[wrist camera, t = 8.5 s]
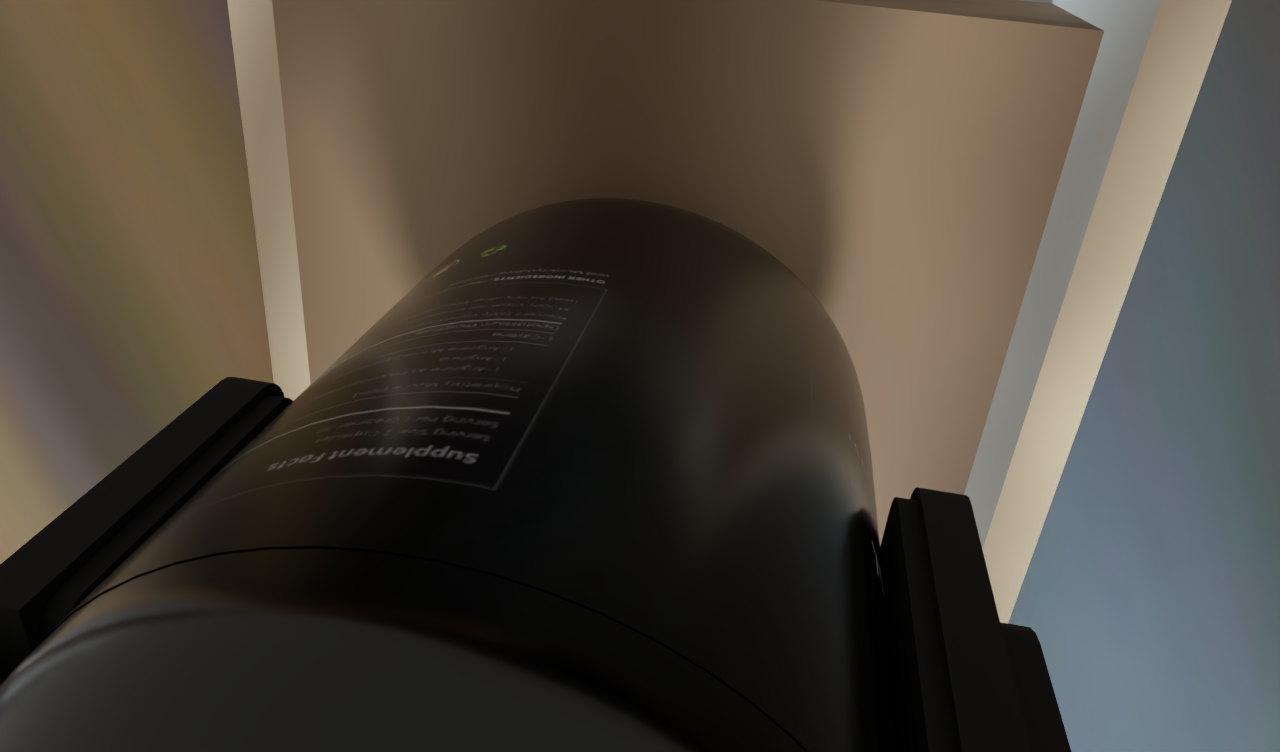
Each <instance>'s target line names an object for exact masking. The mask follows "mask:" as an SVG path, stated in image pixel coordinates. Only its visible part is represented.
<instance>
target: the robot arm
mask: <svg viewBox="0 0 1280 752" xmlns="http://www.w3.org/2000/svg"><path fill="white" fill-rule="evenodd" d="M292 402H293V400H291V399H290V398H285V397H284V393H283V391H282V389H281V388H280V386H278V385H276V384H274V383H267V382H261V381H255V380H249V379H243V378H236V377H227V378H225V379H223V380H222V381H220V382H219V383H218V384H217V385H215V386H214V387H213V388H212V389H211V390H209V391H208V392H207V393H206V394H205V395H203V396H202V397H201V398H200V399H199V400H197V401H196V402H195V403H194V404H193V405H191V406H190V407H189V408H188V409H187V410H185V411H184V412H183V413H182V414H181V415H179V416H178V417H177V418H176V419H175V420H173V421H172V422H171V423H170V424H169V425H167V426H166V427H165V428H164V429H163V430H161V431H160V432H159V433H158V434H157V435H155V436H154V437H153V438H152V439H151V440H149V441H148V442H147V443H146V444H145V445H143V446H142V447H141V448H140V449H139V450H137V451H136V452H135V453H134V454H133V455H131V456H130V457H129V458H128V459H127V460H125V461H124V462H123V463H122V464H121V465H119V466H118V467H117V468H116V469H115V470H113V471H112V472H111V473H110V474H109V475H107V476H106V477H105V478H104V479H103V480H101V481H100V482H99V483H98V484H97V485H95V486H94V487H93V488H92V489H91V490H89V491H88V492H87V493H86V494H85V495H83V496H82V497H81V498H80V499H79V500H77V501H76V502H75V503H74V504H73V505H71V506H70V507H69V508H68V509H67V510H65V511H64V512H63V513H62V514H61V515H59V516H58V517H57V518H56V519H55V520H53V521H52V522H51V523H50V524H49V525H47V526H46V527H45V528H44V529H43V530H41V531H40V532H39V533H38V534H37V535H35V536H34V537H33V538H32V539H31V540H29V541H28V542H27V543H26V544H25V545H23V546H22V547H21V548H20V549H19V550H17V551H16V552H15V553H14V554H13V555H11V556H10V557H9V558H8V559H7V560H5V561H4V562H3V563H2V564H1V565H0V685H1V684H2V683H3V682H4V681H5V679H6V678H7V677H8V676H9V675H10V674H11V673H12V672H13V671H14V670H15V669H16V667H17V666H18V665H19V664H20V663H21V662H22V661H23V660H24V659H25V658H26V657H27V656H28V655H29V654H30V653H31V652H32V651H33V650H34V649H35V648H36V647H37V646H38V645H39V644H40V643H41V642H42V641H43V640H44V639H45V637H46V636H47V635H48V634H49V633H50V632H51V631H52V630H53V629H54V628H55V627H56V626H57V625H58V624H59V623H60V622H61V621H62V620H63V619H64V618H65V617H66V616H67V615H68V614H69V613H70V612H71V611H72V610H73V609H75V608H76V607H77V606H78V605H79V604H80V603H81V602H82V601H83V600H84V599H85V598H86V597H87V596H88V595H89V594H90V593H91V592H92V591H93V590H95V589H96V588H97V587H98V586H99V585H100V584H101V583H102V582H103V581H104V580H105V579H106V578H107V577H108V576H109V575H110V574H111V573H112V572H113V571H115V570H116V569H117V568H118V567H119V566H120V565H121V564H122V563H123V562H124V561H125V560H126V559H127V558H128V557H129V556H130V555H131V554H132V553H134V552H135V551H136V550H137V549H138V548H139V547H140V546H141V545H142V544H143V543H144V542H145V541H146V540H147V539H148V538H149V537H150V536H151V535H153V534H154V533H155V532H156V531H157V530H158V529H159V528H160V527H161V526H162V525H163V524H164V523H165V522H166V521H167V520H168V519H169V518H170V517H172V516H173V515H174V514H175V513H176V512H177V511H178V510H179V509H180V508H181V507H182V506H183V505H184V504H185V503H186V502H187V501H188V500H189V499H191V498H192V497H193V496H194V495H195V494H196V493H197V492H198V491H199V490H200V489H201V488H202V487H203V486H204V485H205V484H206V483H207V482H208V481H210V480H211V479H212V478H213V477H214V476H215V475H216V474H217V473H218V472H219V471H220V470H221V469H222V468H223V467H224V466H225V465H226V464H227V463H229V462H230V461H231V460H232V459H233V458H234V457H235V456H236V455H237V454H238V453H239V452H240V451H241V450H242V449H243V448H244V447H245V446H247V445H248V444H249V443H250V442H251V441H252V440H253V439H254V438H255V437H256V436H257V435H258V434H259V433H260V432H261V431H262V430H263V429H264V428H266V427H267V426H268V425H269V424H270V423H271V422H272V421H273V420H274V419H275V418H276V417H277V416H278V415H279V414H280V413H281V412H282V411H283V410H285V409H286V408H287V407H288V406H289V405H290V404H291V403H292ZM880 551H881V561H882V572H883V582H884V593H885V603H886V613H887V624H888V634H889V644H890V655H891V665H892V675H893V686H894V696H895V707H896V717H897V727H898V738H899V748H900V752H1071V749H1070V746H1069V742H1068V739H1067V735H1066V732H1065V728H1064V725H1063V722H1062V718H1061V715H1060V711H1059V708H1058V704H1057V701H1056V697H1055V694H1054V690H1053V687H1052V683H1051V680H1050V676H1049V673H1048V669H1047V666H1046V662H1045V659H1044V656H1043V652H1042V649H1041V645H1040V642H1039V640H1038V638H1037V635H1036V633H1035V632H1034V631H1033V630H1032V629H1031V628H1030V627H1024V626H1018V625H1013V624H1007V623H1001V622H1000V620H999V616H998V612H997V608H996V604H995V600H994V595H993V591H992V587H991V583H990V579H989V575H988V571H987V567H986V562H985V558H984V554H983V550H982V546H981V542H980V538H979V533H978V529H977V525H976V521H975V517H974V513H973V509H972V505H971V501H970V499H969V497H968V496H967V495H962V494H956V493H950V492H943V491H937V490H931V489H925V488H919V487H916V488H915V489H914V491H913V493H912V495H911V497H910V499H905V498H899V497H895V498H894V499H893V501H892V504H891V507H890V511H889V515H888V518H887V522H886V526H885V530H884V534H883V538H882V542H881V546H880Z"/></svg>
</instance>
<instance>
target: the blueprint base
mask: <svg viewBox="0 0 1280 752" xmlns="http://www.w3.org/2000/svg"><path fill="white" fill-rule="evenodd" d="M1231 1H1232V0H227V2H228V10H229V18H230V27H231V35H232V43H233V51H234V59H235V68H236V76H237V84H238V92H239V100H240V109H241V117H242V125H243V133H244V141H245V150H246V158H247V166H248V174H249V182H250V190H251V199H252V207H253V215H254V223H255V231H256V240H257V248H258V256H259V264H260V272H261V281H262V289H263V297H264V305H265V313H266V322H267V330H268V338H269V346H270V354H271V363H272V371H273V379H274V384H276V385H278V386H280V388H281V389H282V391H283V393H284V397H285V398H290V399H291V400H293V401H294V400H295V399H296V398H297V397H298V396H299V395H300V394H301V393H302V392H304V391H305V390H306V389H307V388H308V387H309V386H310V385H311V384H312V383H313V382H314V381H315V380H316V379H317V378H318V377H319V376H320V375H321V374H323V373H324V372H325V371H326V370H327V369H328V368H329V367H330V366H331V365H332V364H333V363H334V362H335V361H336V360H337V359H338V358H339V357H340V356H342V355H343V354H344V353H345V352H346V351H347V350H348V349H349V348H350V347H351V346H352V345H353V344H354V343H355V342H356V341H357V340H358V339H360V338H361V337H362V336H363V335H364V334H365V333H366V332H367V331H368V330H369V329H370V328H371V327H372V326H373V325H374V324H375V323H376V322H377V321H379V320H380V319H381V318H382V317H383V316H384V315H385V314H386V313H387V312H388V311H389V310H390V309H391V308H392V307H393V306H394V305H395V304H396V303H398V302H399V301H400V300H401V299H402V298H403V297H404V296H405V295H406V294H407V293H408V292H409V291H410V290H411V289H412V288H413V287H415V286H416V285H417V284H418V283H419V282H420V281H421V280H422V279H423V278H424V277H425V276H427V275H428V274H429V273H430V272H431V271H432V270H434V269H435V268H436V267H437V266H438V265H439V264H440V263H442V262H443V261H444V260H445V259H446V258H447V257H448V256H449V255H451V254H452V253H453V252H454V251H455V250H457V249H458V248H459V247H461V246H462V245H464V244H465V243H466V242H468V241H469V240H470V239H472V238H473V237H475V236H476V235H478V234H480V233H481V232H483V231H485V230H487V229H488V228H490V227H492V226H494V225H495V224H497V223H499V222H501V221H503V220H506V219H508V218H510V217H513V216H515V215H517V214H520V213H522V212H525V211H528V210H532V209H535V208H538V207H541V206H545V205H550V204H555V203H560V202H565V201H571V200H581V199H592V198H622V199H632V200H642V201H649V202H654V203H659V204H664V205H669V206H673V207H677V208H680V209H683V210H687V211H690V212H693V213H697V214H699V215H702V216H704V217H707V218H709V219H712V220H714V221H716V222H719V223H721V224H723V225H725V226H727V227H729V228H731V229H733V230H735V231H736V232H738V233H740V234H742V235H744V236H746V237H747V238H749V239H750V240H752V241H753V242H755V243H756V244H758V245H759V246H761V247H762V248H764V249H765V250H767V251H768V252H769V253H770V254H772V255H773V256H774V257H775V258H777V259H778V260H779V261H780V262H782V263H783V264H784V265H785V266H787V267H788V268H789V269H790V270H791V271H792V272H793V273H794V274H795V275H796V276H797V277H798V278H799V279H800V280H801V281H802V282H803V283H804V284H805V285H806V286H807V287H808V289H809V290H810V291H811V292H812V293H813V295H814V296H815V297H816V298H817V299H818V301H819V302H820V303H821V304H822V306H823V307H824V309H825V310H826V312H827V313H828V315H829V316H830V318H831V319H832V321H833V322H834V324H835V326H836V327H837V329H838V331H839V333H840V335H841V337H842V339H843V341H844V342H845V344H846V347H847V349H848V352H849V354H850V357H851V359H852V362H853V364H854V367H855V370H856V374H857V377H858V381H859V385H860V388H861V392H862V395H863V401H864V407H865V413H866V420H867V428H868V435H869V443H870V449H871V458H872V468H873V479H874V489H875V499H876V510H877V520H878V530H879V541H880V546H881V542H882V538H883V534H884V530H885V526H886V522H887V518H888V515H889V511H890V507H891V504H892V501H893V499H894V498H895V497H899V498H905V499H910V497H911V495H912V493H913V491H914V489H915V488H916V487H919V488H925V489H931V490H937V491H943V492H950V493H956V494H962V495H967V496H968V497H969V499H970V501H971V505H972V509H973V513H974V517H975V521H976V525H977V529H978V533H979V538H980V542H981V546H982V550H983V554H984V558H985V562H986V567H987V571H988V575H989V579H990V583H991V587H992V591H993V595H994V600H995V604H996V608H997V612H998V616H999V620H1000V622H1001V623H1007V624H1008V622H1009V619H1010V616H1011V613H1012V611H1013V608H1014V605H1015V602H1016V600H1017V597H1018V594H1019V591H1020V588H1021V586H1022V583H1023V580H1024V577H1025V575H1026V572H1027V569H1028V566H1029V563H1030V561H1031V558H1032V555H1033V552H1034V550H1035V547H1036V544H1037V541H1038V538H1039V536H1040V533H1041V530H1042V527H1043V524H1044V522H1045V519H1046V516H1047V513H1048V511H1049V508H1050V505H1051V502H1052V499H1053V497H1054V494H1055V491H1056V488H1057V486H1058V483H1059V480H1060V477H1061V474H1062V472H1063V469H1064V466H1065V463H1066V460H1067V458H1068V455H1069V452H1070V449H1071V447H1072V444H1073V441H1074V438H1075V435H1076V433H1077V430H1078V427H1079V424H1080V422H1081V419H1082V416H1083V413H1084V410H1085V408H1086V405H1087V402H1088V399H1089V396H1090V394H1091V391H1092V388H1093V385H1094V383H1095V380H1096V377H1097V374H1098V371H1099V369H1100V366H1101V363H1102V360H1103V358H1104V355H1105V352H1106V349H1107V346H1108V344H1109V341H1110V338H1111V335H1112V333H1113V330H1114V327H1115V324H1116V321H1117V319H1118V316H1119V313H1120V310H1121V307H1122V305H1123V302H1124V299H1125V296H1126V294H1127V291H1128V288H1129V285H1130V282H1131V280H1132V277H1133V274H1134V271H1135V269H1136V266H1137V263H1138V260H1139V257H1140V255H1141V252H1142V249H1143V246H1144V243H1145V241H1146V238H1147V235H1148V232H1149V230H1150V227H1151V224H1152V221H1153V218H1154V216H1155V213H1156V210H1157V207H1158V205H1159V202H1160V199H1161V196H1162V193H1163V191H1164V188H1165V185H1166V182H1167V179H1168V177H1169V174H1170V171H1171V168H1172V166H1173V163H1174V160H1175V157H1176V154H1177V152H1178V149H1179V146H1180V143H1181V141H1182V138H1183V135H1184V132H1185V129H1186V127H1187V124H1188V121H1189V118H1190V115H1191V113H1192V110H1193V107H1194V104H1195V102H1196V99H1197V96H1198V93H1199V90H1200V88H1201V85H1202V82H1203V79H1204V77H1205V74H1206V71H1207V68H1208V65H1209V63H1210V60H1211V57H1212V54H1213V52H1214V49H1215V46H1216V43H1217V40H1218V38H1219V35H1220V32H1221V29H1222V26H1223V24H1224V21H1225V18H1226V15H1227V13H1228V10H1229V7H1230V4H1231Z"/></svg>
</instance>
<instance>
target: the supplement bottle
mask: <svg viewBox="0 0 1280 752" xmlns="http://www.w3.org/2000/svg"><path fill="white" fill-rule="evenodd" d="M0 752H900V748H899V738H898V727H897V717H896V707H895V696H894V686H893V675H892V665H891V655H890V644H889V634H888V624H887V613H886V603H885V593H884V582H883V572H882V561H881V551H880V541H879V530H878V520H877V510H876V499H875V489H874V479H873V468H872V458H871V449H870V443H869V435H868V428H867V420H866V413H865V407H864V401H863V395H862V392H861V388H860V385H859V381H858V377H857V374H856V370H855V367H854V364H853V362H852V359H851V357H850V354H849V352H848V349H847V347H846V344H845V342H844V341H843V339H842V337H841V335H840V333H839V331H838V329H837V327H836V326H835V324H834V322H833V321H832V319H831V318H830V316H829V315H828V313H827V312H826V310H825V309H824V307H823V306H822V304H821V303H820V302H819V301H818V299H817V298H816V297H815V296H814V295H813V293H812V292H811V291H810V290H809V289H808V287H807V286H806V285H805V284H804V283H803V282H802V281H801V280H800V279H799V278H798V277H797V276H796V275H795V274H794V273H793V272H792V271H791V270H790V269H789V268H788V267H787V266H785V265H784V264H783V263H782V262H780V261H779V260H778V259H777V258H775V257H774V256H773V255H772V254H770V253H769V252H768V251H767V250H765V249H764V248H762V247H761V246H759V245H758V244H756V243H755V242H753V241H752V240H750V239H749V238H747V237H746V236H744V235H742V234H740V233H738V232H736V231H735V230H733V229H731V228H729V227H727V226H725V225H723V224H721V223H719V222H716V221H714V220H712V219H709V218H707V217H704V216H702V215H699V214H697V213H693V212H690V211H687V210H683V209H680V208H677V207H673V206H669V205H664V204H659V203H654V202H649V201H642V200H632V199H622V198H592V199H581V200H571V201H565V202H560V203H555V204H550V205H545V206H541V207H538V208H535V209H532V210H528V211H525V212H522V213H520V214H517V215H515V216H513V217H510V218H508V219H506V220H503V221H501V222H499V223H497V224H495V225H494V226H492V227H490V228H488V229H487V230H485V231H483V232H481V233H480V234H478V235H476V236H475V237H473V238H472V239H470V240H469V241H468V242H466V243H465V244H464V245H462V246H461V247H459V248H458V249H457V250H455V251H454V252H453V253H452V254H451V255H449V256H448V257H447V258H446V259H445V260H444V261H443V262H442V263H440V264H439V265H438V266H437V267H436V268H435V269H434V270H432V271H431V272H430V273H429V274H428V275H427V276H425V277H424V278H423V279H422V280H421V281H420V282H419V283H418V284H417V285H416V286H415V287H413V288H412V289H411V290H410V291H409V292H408V293H407V294H406V295H405V296H404V297H403V298H402V299H401V300H400V301H399V302H398V303H396V304H395V305H394V306H393V307H392V308H391V309H390V310H389V311H388V312H387V313H386V314H385V315H384V316H383V317H382V318H381V319H380V320H379V321H377V322H376V323H375V324H374V325H373V326H372V327H371V328H370V329H369V330H368V331H367V332H366V333H365V334H364V335H363V336H362V337H361V338H360V339H358V340H357V341H356V342H355V343H354V344H353V345H352V346H351V347H350V348H349V349H348V350H347V351H346V352H345V353H344V354H343V355H342V356H340V357H339V358H338V359H337V360H336V361H335V362H334V363H333V364H332V365H331V366H330V367H329V368H328V369H327V370H326V371H325V372H324V373H323V374H321V375H320V376H319V377H318V378H317V379H316V380H315V381H314V382H313V383H312V384H311V385H310V386H309V387H308V388H307V389H306V390H305V391H304V392H302V393H301V394H300V395H299V396H298V397H297V398H296V399H295V400H294V401H293V402H292V403H291V404H290V405H289V406H288V407H287V408H286V409H285V410H283V411H282V412H281V413H280V414H279V415H278V416H277V417H276V418H275V419H274V420H273V421H272V422H271V423H270V424H269V425H268V426H267V427H266V428H264V429H263V430H262V431H261V432H260V433H259V434H258V435H257V436H256V437H255V438H254V439H253V440H252V441H251V442H250V443H249V444H248V445H247V446H245V447H244V448H243V449H242V450H241V451H240V452H239V453H238V454H237V455H236V456H235V457H234V458H233V459H232V460H231V461H230V462H229V463H227V464H226V465H225V466H224V467H223V468H222V469H221V470H220V471H219V472H218V473H217V474H216V475H215V476H214V477H213V478H212V479H211V480H210V481H208V482H207V483H206V484H205V485H204V486H203V487H202V488H201V489H200V490H199V491H198V492H197V493H196V494H195V495H194V496H193V497H192V498H191V499H189V500H188V501H187V502H186V503H185V504H184V505H183V506H182V507H181V508H180V509H179V510H178V511H177V512H176V513H175V514H174V515H173V516H172V517H170V518H169V519H168V520H167V521H166V522H165V523H164V524H163V525H162V526H161V527H160V528H159V529H158V530H157V531H156V532H155V533H154V534H153V535H151V536H150V537H149V538H148V539H147V540H146V541H145V542H144V543H143V544H142V545H141V546H140V547H139V548H138V549H137V550H136V551H135V552H134V553H132V554H131V555H130V556H129V557H128V558H127V559H126V560H125V561H124V562H123V563H122V564H121V565H120V566H119V567H118V568H117V569H116V570H115V571H113V572H112V573H111V574H110V575H109V576H108V577H107V578H106V579H105V580H104V581H103V582H102V583H101V584H100V585H99V586H98V587H97V588H96V589H95V590H93V591H92V592H91V593H90V594H89V595H88V596H87V597H86V598H85V599H84V600H83V601H82V602H81V603H80V604H79V605H78V606H77V607H76V608H75V609H73V610H72V611H71V612H70V613H69V614H68V615H67V616H66V617H65V618H64V619H63V620H62V621H61V622H60V623H59V624H58V625H57V626H56V627H55V628H54V629H53V630H52V631H51V632H50V633H49V634H48V635H47V636H46V637H45V639H44V640H43V641H42V642H41V643H40V644H39V645H38V646H37V647H36V648H35V649H34V650H33V651H32V652H31V653H30V654H29V655H28V656H27V657H26V658H25V659H24V660H23V661H22V662H21V663H20V664H19V665H18V666H17V667H16V669H15V670H14V671H13V672H12V673H11V674H10V675H9V676H8V677H7V678H6V679H5V681H4V682H3V683H2V684H1V685H0Z"/></svg>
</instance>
